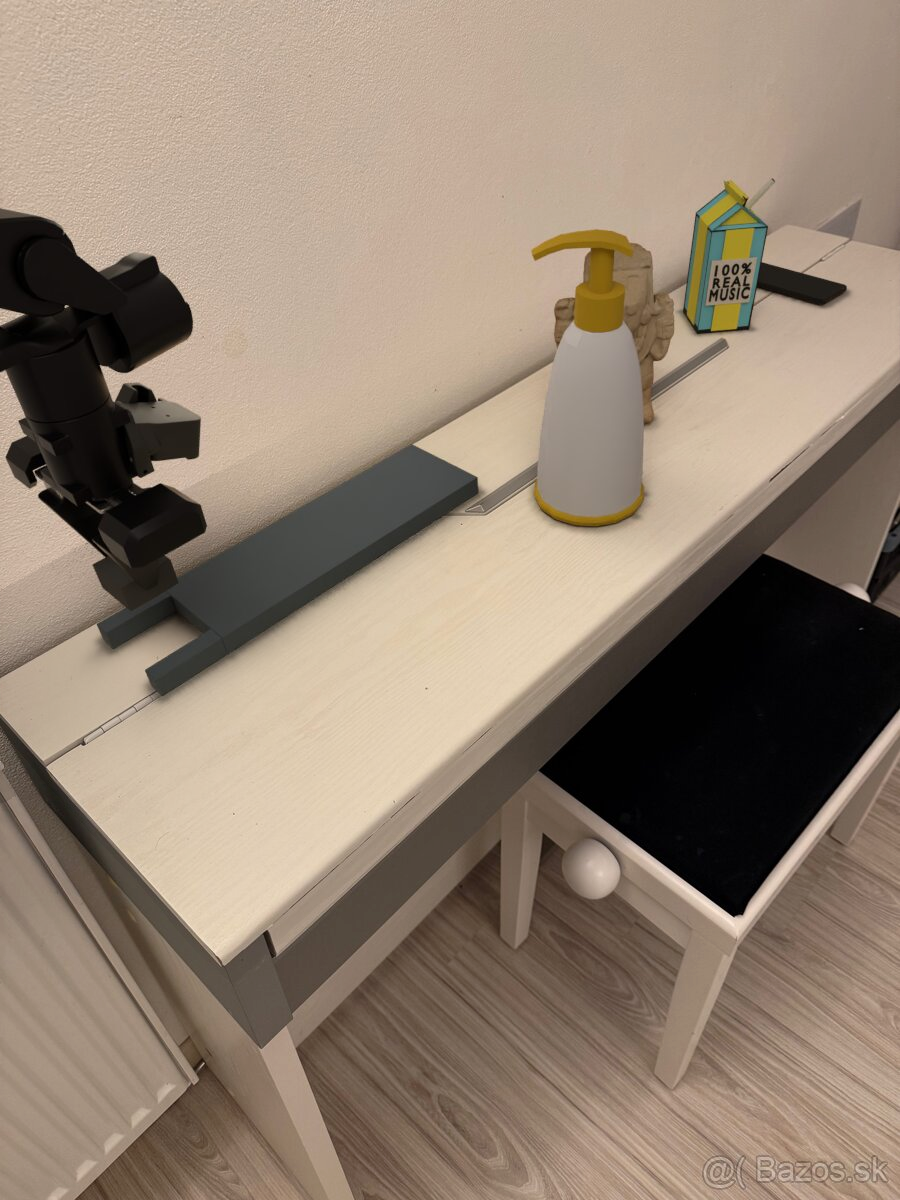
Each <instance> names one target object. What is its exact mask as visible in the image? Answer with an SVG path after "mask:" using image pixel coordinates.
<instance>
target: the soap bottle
mask: <svg viewBox="0 0 900 1200" xmlns="http://www.w3.org/2000/svg"><path fill="white" fill-rule="evenodd" d="M630 243H631V242H630V241H629V238H628V237H627V236H626V235H624V234H621V233H619V232H616V231H614V230H609V229H597V228H596V229H595V228H594V229H588V230H578V231H572V232H567V233H561V234H558V235H556V236H553V237H552V238H549V239H547V240H545V241H543V242H542V243H540V244H538V245H536V246H535V247H533V248H531V250H530V252H531V255H532V258H533V260H534V261H535V262H536V261H539V260H540V259H542V258H545V257H547V256H549V255H551V254H554V253H558V252H560V251H564V250H573V249H574V250H575V249H576V250H577V249H590V251H591V253H590V273H589V281H586V282H583V281H582V282H580V283H579V284H577V286H575V289H574V290H575V291H574V298H575V313H574V320H573V322H572V323H571V324H570V325H569V327H568V328H567V329H566V331H565V332H564V334H563V337H562V339H561V341H560V344H559V346H558V349H557V348H556V352H555V356H554V359H553V362H552V365H551V369H550V375H549V380H548V385H547V389H546V396H545V401H544V408H543V413H542V420H541V426H540V434H539V445H538V456H537V473H536V475H537V477H536V479H535V481H534V488H533V497H534V498H535V501H536V502H537V504H538V507H539V508H540V510H541V511H543V512H544V513H546V514H547V515H548V516H549V517H551V518H553V519H554V520H557V521H559V522H563V523H566V524H568V525H569V524H570V525H572V526H583V527H584V526H585V527H600V526H606V525H611V524H615V523H619V522H620V521H623V520H624V519H627V518H628V517H630V516H632V515H634V514H635V512H636V511H637V510H638V508H639V507H640V506H641V504H642V503H643V501H644V496H645V495H644V493H645V492H644V489H645V488H644V487H645V486H644V485H643V483H642V479H643V469H644V438H645V435H644V434H645V433H644V431H645V423H644V418H643V394H642V382H641V369H640V364H639V358H638V353H637V349H636V346H635V342H634V339H633V336H632V333H631V331H630V330H629V328H628V327H627V325H626V324H625V322H624V321H623V312H624V299H625V287H624V286H623V285H622V284H621V283H618V282H616V281H613V267H614V253H615V251H618V252H620V253H622V254H625V255H627V256H629V257H632V255H633V252H634V251H633V249H632V247H631V245H630Z"/></svg>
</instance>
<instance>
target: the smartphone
mask: <svg viewBox="0 0 900 1200" xmlns="http://www.w3.org/2000/svg"><path fill="white" fill-rule="evenodd" d="M757 288H761V289H765V290H768V291H772V292H775V293H779V294H782V295H786V296H789V297H792V298H796V299H799V300H803V301H806V302H810V303H813V304H817V305H825V304H826V303H828V302H830V301H831V300H833V299H835V298H836V297H839V296H840V295H842V294H843V293H845V292H847V289H848V286H847V285H846V284H844V283H840V282H837V281H832V280H829V279H826V278H822V277H818V276H815V275H810V274H807V273H804V272H800V271H796V270H792V269H789V268H786V267H781V266H778V265H774V264H771V263H766V262H763V261H762V263H761V268H760V273H759V279H758V284H757Z"/></svg>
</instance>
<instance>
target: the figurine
mask: <svg viewBox="0 0 900 1200" xmlns="http://www.w3.org/2000/svg"><path fill="white" fill-rule="evenodd" d="M629 243H630V245H631V247H632V249H633V251H634V252H633V255H632V257H629V256H627V255H625V254H622V253H620V252H618V251H615V253H614V267H613V281H616V282H618V283H621V284H622V285H623V286H624V287H625V299H624V312H623V321H624V322H625V324H626V325H627V327H628V328H629V330H630V331H631V333H632V336H633V339H634V342H635V346H636V349H637V353H638V358H639V364H640V369H641V382H642V394H643V418H644V424H648V423H650V422H652V421H653V420H654V417H655V411H654V408H653V402H652V388H653V387H652V386H653V384H654V378H655V377H654V376H655V372H654V371H655V370H654V362H659V361H662V360H663V359H664V358H665V357H666V356H667V354H668V353H669V348H670V345H671V340H672V338H673V336H674V334H675V314H674V312H675V308H674V307H675V302H674V299H673V298H671V297H670V295H669V294H668V292H658V293H655V294H654V273H653V272H654V264H653V262H654V261H653V255H652V252H651V251H650V250H648V249H646V248H645V247H643V246H642V245H641V244H639V243H636V242H629ZM590 253H591V250H590V251H588V252H587V253H586V255H585V256H584V262H583V274H582V276H583V279H582V280H583V281H582V283H583V282H586V281H589V273H590ZM574 313H575V297H573V296H572V297H563V298H560V299H558V300H557V301H556V303H555V304H554V307H553V314H554V318H555V321H554V322H555V323H554V331H553V336H554V342H555V344H556V350H557V349H558V346H559V344H560V341H561V339H562V337H563V334H564V332H565V331H566V329H567V328H568V327H569V325H570V324H571V323H572V322H573V320H574Z"/></svg>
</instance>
